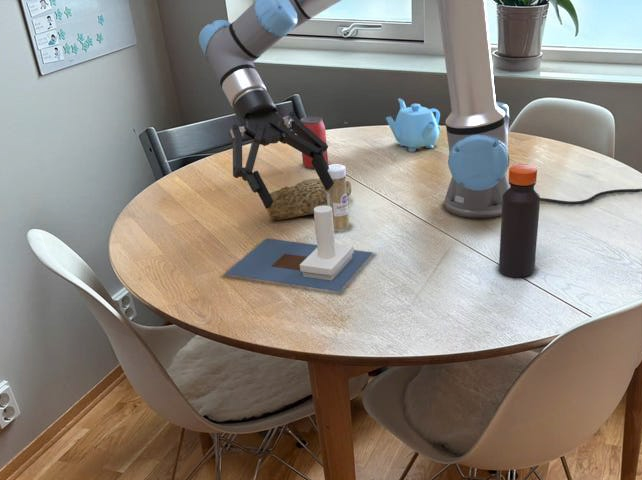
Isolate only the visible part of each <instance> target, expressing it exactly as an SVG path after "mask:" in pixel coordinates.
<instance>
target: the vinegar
mask: <svg viewBox="0 0 642 480" xmlns="http://www.w3.org/2000/svg"><path fill="white" fill-rule="evenodd" d="M537 177H538V168H537V167H536V166H533V165H530V164H514V165H512V166H509V167H508V184H509V189H508V190H507V191H506V192H505V193H504V194H503V197H502V215H501V216H500V217H501V218H500V239H499V257H498V258H499V259H498V260H499V261H498V271H499V272H500V273H501V274H503V275H504V276H506V277H509V278H515V279H517V278H518V279H520V278H526V277H529V276H530V275H532V274H533V273H534V271H535V267H536V254H537V245H538V244H537V241H538V231H539V218H540V207H541V205H540V204H541V201H540V198H541V196H540V193H539V192H538V191H537V190H536V189H535V186H536V184H537Z"/></svg>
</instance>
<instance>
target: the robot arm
mask: <svg viewBox="0 0 642 480" xmlns="http://www.w3.org/2000/svg"><path fill="white" fill-rule="evenodd" d="M341 1H342V0H255V1H254V2H253V3H252V4H251V5H249V7H248V8H246V10H244V12H242V13H241V14H240V15H239V16H238V17H237V18H236V19H235V20H234V21H232V23H231V22H230V21H228V20H225V19H217V20H213V22H212V23H208V24H206V25H205V26H204V27H203V28H202V29H201V30H200V33H199V35H198V43H199V46H200V48H201V50H202V52H203V55H204V58H205V61H206V62H207V63H208V64H209V67H210V68H211V70H212V72H213V73H214V75H215V77H216V79H217V81H218V83H219V85H220V87H221V89H222V91H223V92H224V95H225V97H226V99H227V101H228V103H229V104H230V106H231V108H233V113H234V114H235V116H236V118H237V120H238V121H239V123H240V125H241V126H239V125H238V124H232V126H231V128H230V130H229V134H228V135H229V137H230V140H231V143H232V177H233V178H234V179H239V178H241V180H243V181H244V182H247V184H248V186H249V188H250V190H251V191H252V193H257V194H258V196H259V199H260V200H261V202H262V204H263V206H264V208H265V209H266V210H268V208H270V206H271V205H272V203H273V199H272V197H271V195H270V191H269V190H268V187H267V186H266V184H265V182H264V180H263V178H262V176H261V174H260V172H259V171H258V170H254V168H255V163H256V161H257V160H256V159H257V157H258V152H259V149H260V145H261V146H263V147H266V146H269V145H270V144H271V145H272V144H278V143H281V144H283V145H288V146H290V147H292V148H293V149H295V150H297V151H298V152H300V153H301V154H302V153H304V154H305V155H307V156H309V157H311V158H312V159H313V160H312V162H311V163H312V165H313V167H314V169H313V170H314V171H315V173H316V174H317V176H318V178H320V180H321V182H322V184H323V186H324V188H325V189H326V191H327V190H330V188H331V187H332V185H333V184H334V182H333V180H332V178H331V176H330V174H329V173H328V169H329V166H328V165H329V163H328V164H327V162H326V160H325V158H324V157H323V155H324V153H325V152H326V150H327V151H328V148H329V145H328V144H327V142H326V143H325V142H324V141H322V140H321V139H320V138H319V137H318V136H317V135H316V134H314V133H313V132H312V131H311V130H310V129H309V128H307V127H306V126H305V125H304V124H303V123H302V122H301V121H300V118H298V116H297V115H296V113H295V112H294V111H290V112H289V113H288V115H285V116H281V115H280V114H279V113H278V110H277V106H276V104H275V103H274V100H273V99H272V97H271V95H270V93H269V92H268V91H267V87H266V85H265V83H264V82H263V80H262V78H261V76H260V74H259V72H258V70H257V69H256V66H255V64H254V62H255V61H256V60H257V59H259V58H260V57H261V56H262V55H263V54H264V53H266V52H267V51H268V50H270V48H272V47H273V46H274V45H275V44H277V43H278V42H279V41H280V40H281V39H283V38H284V37H285V36H287V35H288V34H289V33H290V32H292V31H293V30H295V29H297V28H298V27H300V26H301V25H303V24H305V23H307V22H309V20H311V19H313V18H314V17H316V16H318V15H319V14H321V13H322V12H324V11H326V10H328V9H329V8H331V7H333V6H334V5H336V4H338V3H340V2H341ZM436 1H437V9H438V10H437V11H438V17H439V25H440V33H441V40H442V47H443V54H444V55H443V56H444V62H445V63H444V64H445V69H446V70H445V71H446V78H447V86H448V93H449V99H450V101H449V102H450V108H451V111H450V113H449V115H448V116H447V118H446V119H445V129H446V137H447V144H448V152H449V154H448V158H447V165H448V169H449V173H450V175H451V179H450V181H449V185H448V188H447V191H446V194H445V197H444V206H445V209H446V210H447V211H448V212H449V213H451V214H452V215H455V216H458V217H463V218H467V219H490V218H491V219H492V218H496V217H501V216H502V197H503V194H504V193H505V192H506V191H507V190H508V189H509V188H510V184H509V179H508V177H507V171H508V169H509V167H510V153H509V121H510V109H509V106H508V104H506V103H504V102H500V101H496V93H495V92H496V91H495V83H494V74H493V73H494V71H493V63H492V62H493V61H492V53H491V51H492V50H491V43H490V41H491V40H490V32H489V22H488V21H489V20H488V12H487V1H486V0H436ZM283 134H284V135H283ZM244 135H245V136H246V137H248V138H249V139H251V144H250V147H249V152H248V155H247V159H246V162H245V166H243V137H244ZM253 170H254V171H253ZM641 192H642V188H622V189H620V188H619V189H609V190H604V191H600V192H598V193H596V194H594V195H592V196H590V197H588V198H586V199H583V200H572V201H571V200H570V201H569V200H559V199H554V198H553V199H552V198H547V197H545V198H544V197H540V202H544V203H545V202H546V203H554V204H559V205H571V206H573V205H584V204H587V203H590V202H592V201H593V200H595V199H597V198H599V197H601V196H605V195H611V194H618V193H619V194H620V193H641Z"/></svg>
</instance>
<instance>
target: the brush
mask: <svg viewBox="0 0 642 480" xmlns="http://www.w3.org/2000/svg"><path fill="white" fill-rule="evenodd" d="M313 217H314V218H313V219H314V227H315V228H314V229H315V237H316V245H317V248H316V249H315V250H314V251H313V252H312V253H311V254H310V255H309V256H308V257H307V258H306V259H305V260H304V261H303V262H302V263H301V264H300V271H302V272H303V277H310V278H317V279H324V280H330V281H332V280H333V279H334V278H335V277H336V276H337V275H338V273H339V272H340V271H341V270H342V269H343V268H344V267H345V266H346V265H347V263H348V262H349V261H350V260H351V259H352V254H353V253H354V250H355V248H354V245H352V244H351V245H350V244H342V243H336V239H335V238H336V237H335V230H334V226H333V214H332V208H331V207H330V206H326V205H323V206H317V207H315V208H314V214H313Z"/></svg>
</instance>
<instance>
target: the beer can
mask: <svg viewBox="0 0 642 480" xmlns="http://www.w3.org/2000/svg"><path fill="white" fill-rule="evenodd" d="M299 121H301V122H302V123H303V124H304V125H305V126H306V127H307V128H309V129H310V130H311V131H312V132H313V133H314V134H316V135H317V136H318V137H319V138H320V139H321V140H322V141H324V142H325V143H326V144H327V134H326V127H325V126H326V125H325V124H324V121H323V118H322V117H321V116H317V115H316V116H315V115H310V116H305V117H302V118H301V119H299ZM301 157H302V165H303V166H304V167H305V168H307V169H310V170H311V169H312V170H315V169H314V167H313V165H312V163H311V162H312V160H313V159H312V158H311V157H309V156H307V155H305V154H304V153H302V152H301ZM323 157H324V158H325V160H326V162H327V164H328V165H329V155H328V149H327V150H326V152H325V153H324V155H323Z"/></svg>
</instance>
